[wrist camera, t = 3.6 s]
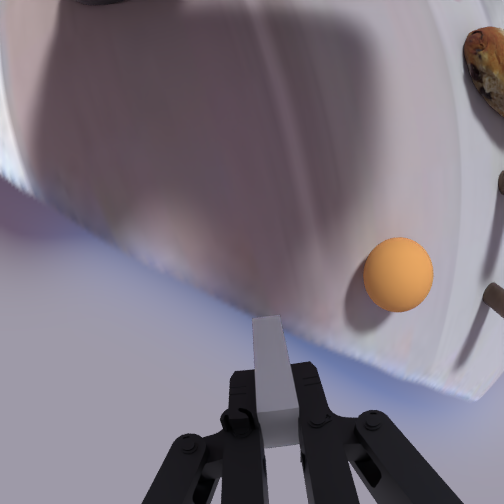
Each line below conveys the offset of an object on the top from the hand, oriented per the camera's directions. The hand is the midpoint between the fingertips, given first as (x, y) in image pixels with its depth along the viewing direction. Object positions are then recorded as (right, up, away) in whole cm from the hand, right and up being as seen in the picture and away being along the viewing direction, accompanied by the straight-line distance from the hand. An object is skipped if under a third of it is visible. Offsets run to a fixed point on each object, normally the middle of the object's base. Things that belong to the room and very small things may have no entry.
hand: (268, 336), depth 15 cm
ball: (+10, +3, +4) cm, 11 cm away
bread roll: (+23, +23, 0) cm, 33 cm away
